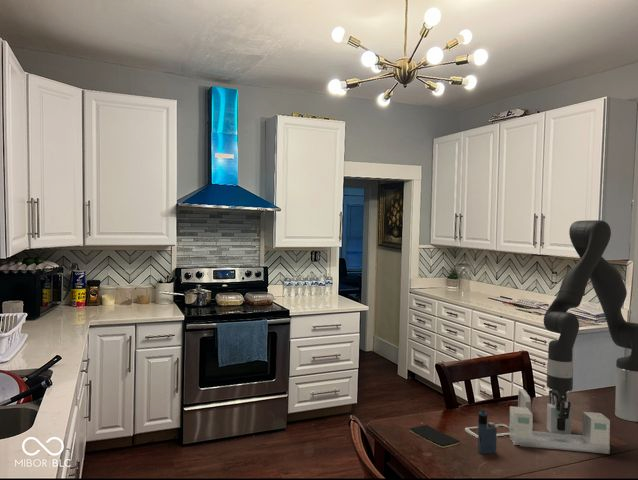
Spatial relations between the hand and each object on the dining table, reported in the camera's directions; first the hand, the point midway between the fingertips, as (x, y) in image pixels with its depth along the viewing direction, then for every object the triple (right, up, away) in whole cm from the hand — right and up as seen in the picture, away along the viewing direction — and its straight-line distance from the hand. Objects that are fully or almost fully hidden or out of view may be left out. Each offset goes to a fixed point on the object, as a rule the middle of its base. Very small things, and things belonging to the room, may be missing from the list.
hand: (558, 427), depth 157 cm
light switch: (-5, -2, +15) cm, 16 cm away
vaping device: (-29, 0, -18) cm, 34 cm away
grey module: (0, -1, 0) cm, 1 cm away
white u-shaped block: (-6, -1, -11) cm, 13 cm away
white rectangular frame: (-22, -1, -3) cm, 23 cm away
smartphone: (-42, -1, -8) cm, 42 cm away
